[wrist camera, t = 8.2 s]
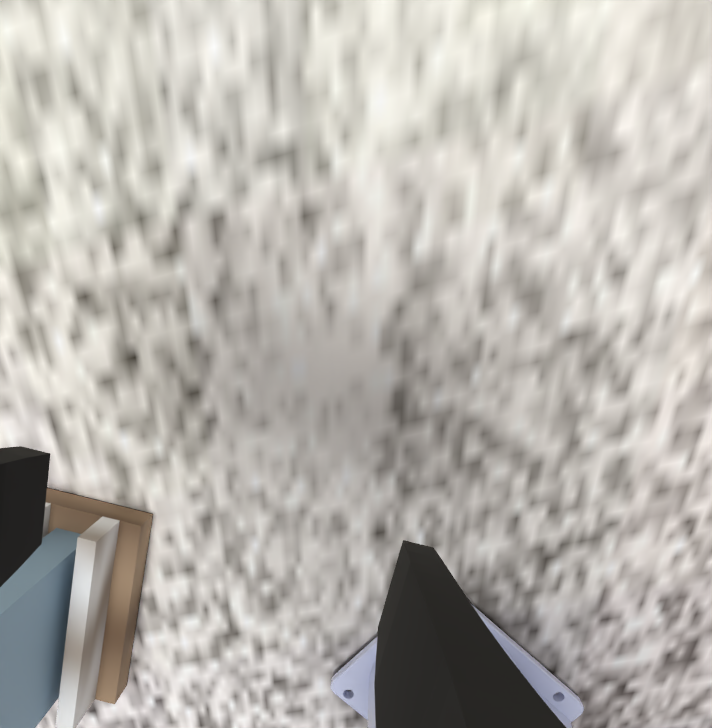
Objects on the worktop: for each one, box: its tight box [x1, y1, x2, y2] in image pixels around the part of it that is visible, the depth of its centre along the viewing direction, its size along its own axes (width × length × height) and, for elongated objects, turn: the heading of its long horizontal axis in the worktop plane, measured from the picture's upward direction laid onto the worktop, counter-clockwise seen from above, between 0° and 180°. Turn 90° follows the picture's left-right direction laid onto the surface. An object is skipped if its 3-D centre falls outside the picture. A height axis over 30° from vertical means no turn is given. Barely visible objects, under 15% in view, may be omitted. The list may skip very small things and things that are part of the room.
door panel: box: [0, 528, 81, 728], centre depth 17 cm, size 8×2×6 cm, turn 167°
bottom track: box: [42, 488, 153, 728], centre depth 20 cm, size 10×6×3 cm, turn 167°
